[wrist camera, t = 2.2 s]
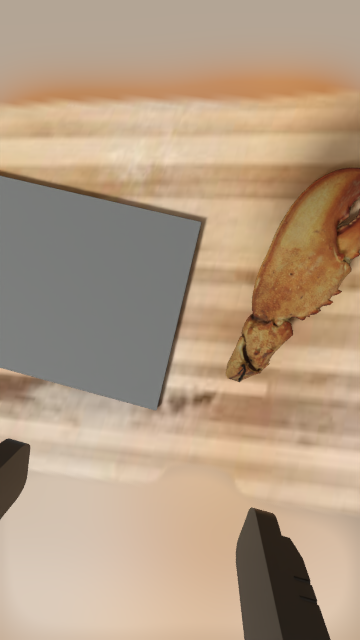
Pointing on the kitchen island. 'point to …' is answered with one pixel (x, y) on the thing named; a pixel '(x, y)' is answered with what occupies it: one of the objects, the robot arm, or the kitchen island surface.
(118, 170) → the kitchen island surface
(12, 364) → the mat
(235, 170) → the kitchen island surface
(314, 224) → the crab claw
